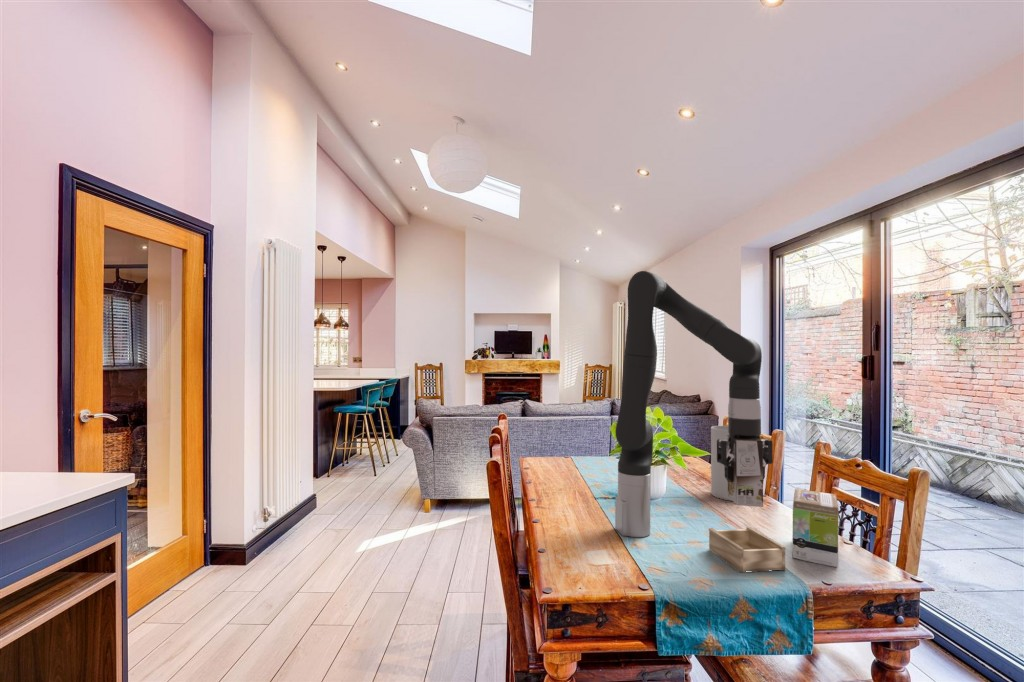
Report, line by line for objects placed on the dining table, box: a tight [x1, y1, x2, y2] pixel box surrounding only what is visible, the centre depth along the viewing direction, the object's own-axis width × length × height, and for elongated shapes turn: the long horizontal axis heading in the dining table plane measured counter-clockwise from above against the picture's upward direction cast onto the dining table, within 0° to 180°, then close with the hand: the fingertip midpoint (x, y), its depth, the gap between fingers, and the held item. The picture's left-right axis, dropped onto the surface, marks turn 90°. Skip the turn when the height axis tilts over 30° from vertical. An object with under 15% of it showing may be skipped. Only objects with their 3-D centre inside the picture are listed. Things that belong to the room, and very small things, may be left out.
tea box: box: [791, 488, 840, 568], centre depth 125 cm, size 15×10×15 cm
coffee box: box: [727, 435, 764, 508], centre depth 121 cm, size 9×6×16 cm
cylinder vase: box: [710, 425, 734, 502], centre depth 176 cm, size 12×12×25 cm
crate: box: [708, 526, 787, 573], centre depth 121 cm, size 12×14×6 cm
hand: (744, 480), depth 121 cm, fingers closed on coffee box, 7 cm apart
